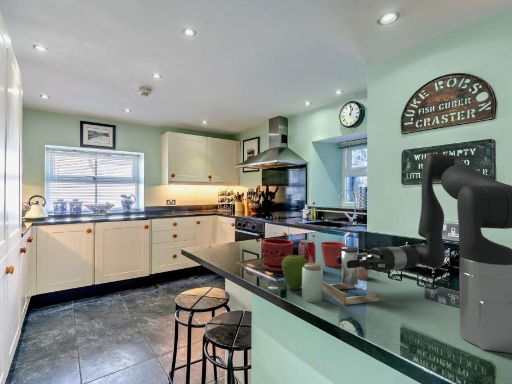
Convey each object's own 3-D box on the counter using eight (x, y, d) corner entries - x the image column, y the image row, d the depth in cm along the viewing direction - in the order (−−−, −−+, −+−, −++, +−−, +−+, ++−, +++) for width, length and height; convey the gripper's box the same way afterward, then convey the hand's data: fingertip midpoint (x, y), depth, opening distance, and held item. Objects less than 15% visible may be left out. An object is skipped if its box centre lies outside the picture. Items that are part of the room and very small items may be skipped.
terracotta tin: (369, 280, 100) (369, 266, 100) (352, 279, 102) (352, 265, 102) (366, 276, 106) (366, 263, 106) (350, 274, 107) (350, 262, 108)
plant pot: (261, 273, 108) (261, 242, 108) (262, 265, 121) (262, 237, 121) (294, 274, 107) (294, 243, 107) (291, 265, 120) (292, 238, 120)
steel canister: (359, 285, 82) (359, 249, 82) (341, 284, 83) (341, 248, 83) (356, 280, 87) (356, 246, 87) (340, 279, 88) (340, 245, 88)
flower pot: (315, 263, 125) (315, 242, 125) (334, 261, 130) (334, 240, 130) (331, 269, 115) (331, 246, 115) (350, 266, 120) (350, 244, 120)
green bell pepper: (313, 289, 90) (313, 254, 90) (296, 295, 84) (297, 257, 84) (292, 282, 96) (292, 250, 96) (276, 288, 90) (276, 253, 90)
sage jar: (322, 303, 78) (322, 268, 78) (301, 301, 79) (301, 266, 79) (322, 296, 84) (322, 263, 84) (302, 294, 85) (302, 262, 85)
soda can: (315, 272, 110) (315, 242, 110) (297, 271, 111) (298, 241, 112) (315, 267, 117) (315, 239, 117) (298, 266, 118) (298, 239, 119)
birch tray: (353, 287, 92) (353, 278, 92) (379, 300, 80) (379, 290, 80) (321, 290, 88) (321, 281, 89) (344, 305, 77) (344, 294, 77)
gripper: (371, 243, 96) (329, 245, 91) (405, 251, 82) (357, 255, 77) (371, 264, 96) (329, 268, 91) (405, 276, 82) (356, 281, 77)
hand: (342, 262), depth 84 cm, fingers closed on steel canister, 4 cm apart
